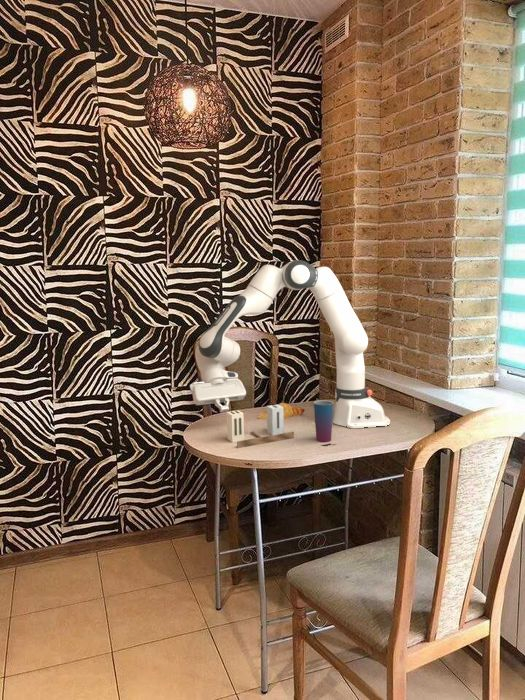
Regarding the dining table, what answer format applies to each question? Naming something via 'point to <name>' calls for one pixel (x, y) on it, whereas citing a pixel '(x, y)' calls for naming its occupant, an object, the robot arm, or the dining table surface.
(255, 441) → the rail board
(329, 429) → the cup
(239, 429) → the key two
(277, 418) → the key one
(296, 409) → the croissant
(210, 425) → the dining table surface
